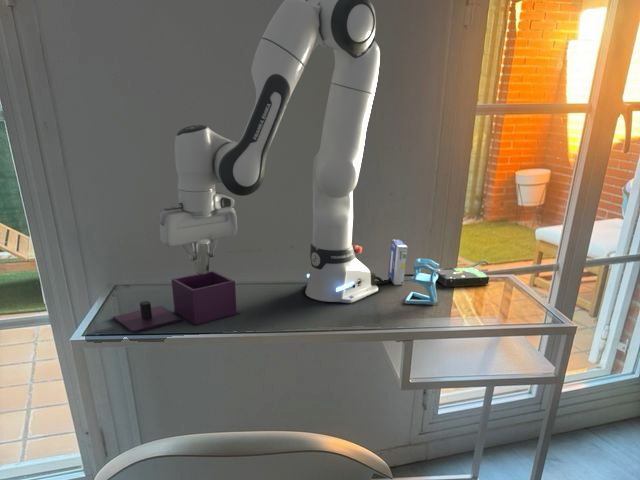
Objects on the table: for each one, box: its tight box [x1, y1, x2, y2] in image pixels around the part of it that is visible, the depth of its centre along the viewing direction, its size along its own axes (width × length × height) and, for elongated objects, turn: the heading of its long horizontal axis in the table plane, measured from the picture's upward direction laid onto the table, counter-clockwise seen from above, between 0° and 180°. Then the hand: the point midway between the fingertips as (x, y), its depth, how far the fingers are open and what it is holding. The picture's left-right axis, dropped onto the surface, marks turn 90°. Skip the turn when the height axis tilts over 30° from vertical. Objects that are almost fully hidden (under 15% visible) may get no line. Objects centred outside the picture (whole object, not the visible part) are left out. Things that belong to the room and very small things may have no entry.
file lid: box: [112, 300, 182, 334], centre depth 150 cm, size 13×11×5 cm
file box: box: [171, 270, 237, 325], centre depth 154 cm, size 13×11×9 cm
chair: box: [404, 258, 440, 306], centre depth 167 cm, size 8×8×12 cm
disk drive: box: [436, 266, 490, 288], centre depth 186 cm, size 10×3×15 cm
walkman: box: [387, 239, 408, 286], centre depth 181 cm, size 8×3×12 cm, turn 10°
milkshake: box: [192, 234, 213, 274], centre depth 148 cm, size 4×5×10 cm
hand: (201, 258), depth 149 cm, fingers closed on milkshake, 4 cm apart
